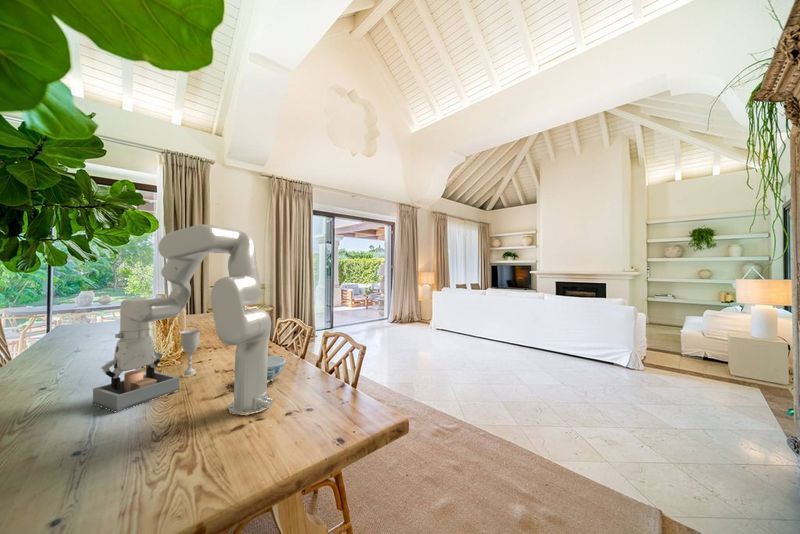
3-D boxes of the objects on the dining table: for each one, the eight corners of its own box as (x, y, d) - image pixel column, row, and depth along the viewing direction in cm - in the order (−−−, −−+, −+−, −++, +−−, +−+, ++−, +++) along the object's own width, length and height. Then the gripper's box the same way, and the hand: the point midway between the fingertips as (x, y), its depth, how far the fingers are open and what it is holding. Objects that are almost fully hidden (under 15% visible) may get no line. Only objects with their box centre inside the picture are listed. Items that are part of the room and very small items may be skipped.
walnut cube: (156, 394, 105) (156, 379, 105) (139, 400, 100) (139, 384, 100) (147, 391, 107) (147, 377, 107) (130, 397, 102) (130, 382, 102)
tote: (179, 391, 110) (179, 377, 110) (116, 412, 94) (117, 396, 94) (155, 384, 116) (155, 371, 116) (92, 403, 99) (93, 388, 99)
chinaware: (275, 388, 114) (276, 367, 114) (236, 387, 115) (236, 366, 115) (290, 374, 129) (291, 356, 129) (255, 373, 130) (256, 355, 130)
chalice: (182, 379, 121) (183, 334, 121) (176, 375, 125) (177, 331, 126) (203, 374, 127) (203, 331, 127) (196, 371, 131) (197, 329, 131)
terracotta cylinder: (146, 391, 107) (146, 371, 107) (129, 396, 103) (129, 376, 103) (137, 389, 109) (138, 369, 109) (120, 394, 105) (121, 373, 105)
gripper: (108, 341, 96) (107, 395, 96) (168, 331, 112) (167, 377, 112) (96, 338, 99) (95, 391, 99) (156, 329, 115) (155, 374, 115)
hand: (133, 384), depth 106 cm, fingers open, 9 cm apart
